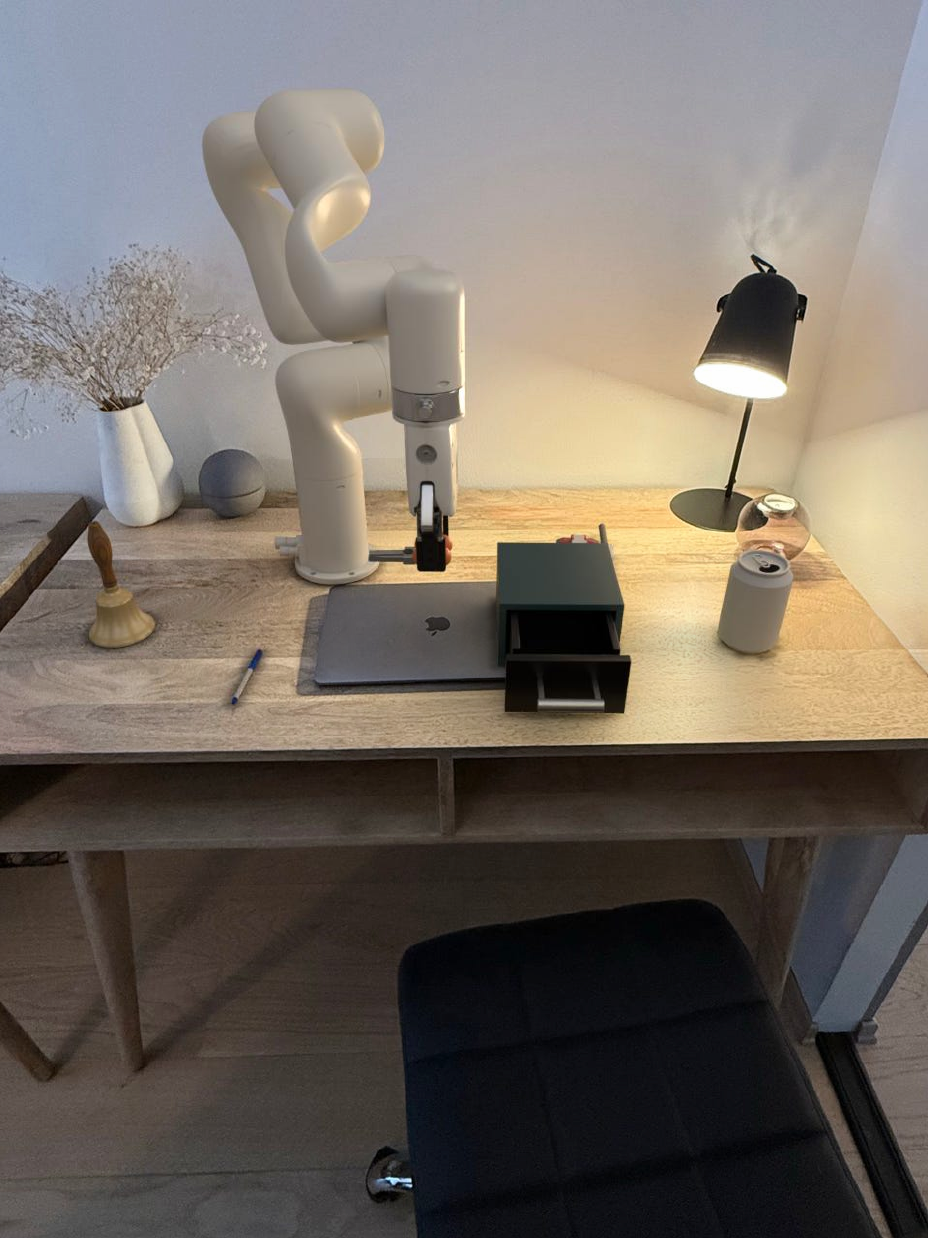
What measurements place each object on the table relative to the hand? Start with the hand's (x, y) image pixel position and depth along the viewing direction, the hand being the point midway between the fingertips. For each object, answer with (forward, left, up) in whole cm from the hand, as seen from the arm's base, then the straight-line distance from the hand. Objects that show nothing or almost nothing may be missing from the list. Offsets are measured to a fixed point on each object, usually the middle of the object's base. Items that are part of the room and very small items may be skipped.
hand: (433, 555), depth 94 cm
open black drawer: (+15, -5, -15) cm, 22 cm away
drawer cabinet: (+15, +8, -16) cm, 23 cm away
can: (+40, +6, -16) cm, 43 cm away
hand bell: (-42, +7, -16) cm, 45 cm away
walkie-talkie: (+21, +26, -16) cm, 37 cm away
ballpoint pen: (-23, -3, -16) cm, 28 cm away
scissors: (-2, 0, 0) cm, 2 cm away
